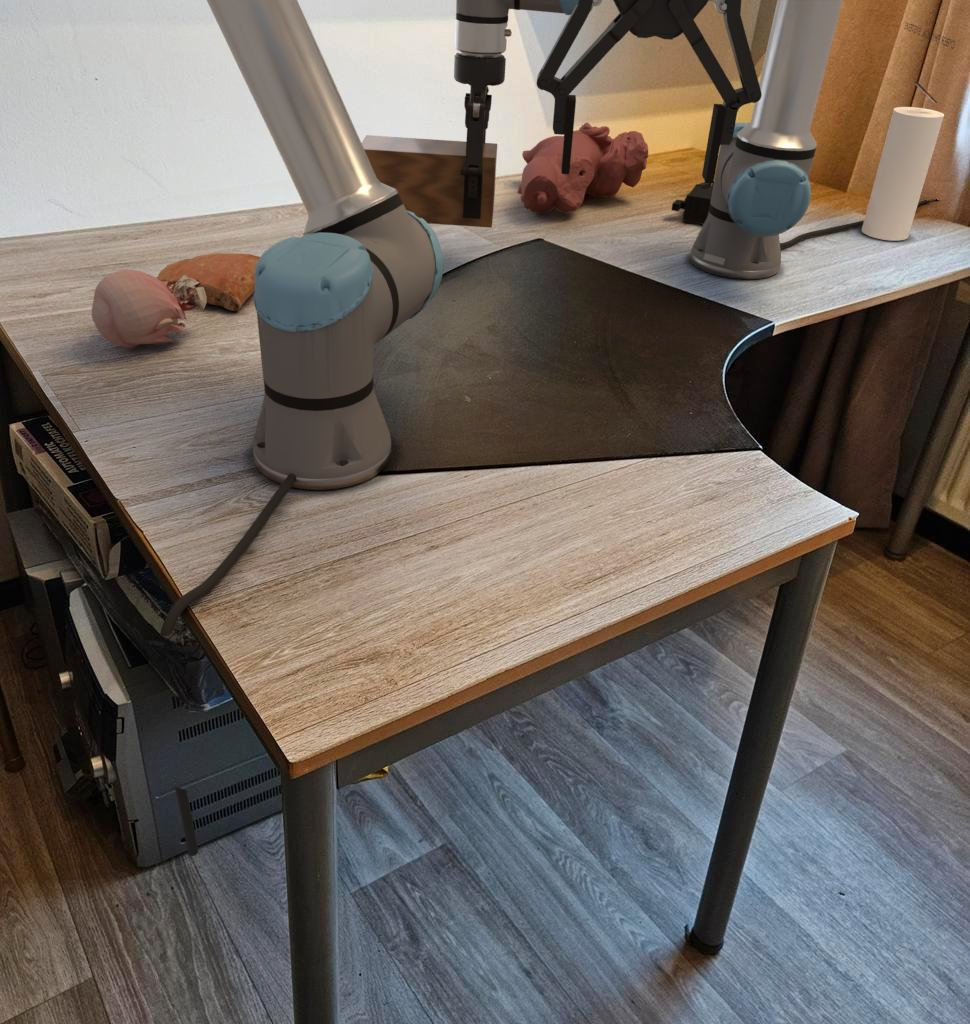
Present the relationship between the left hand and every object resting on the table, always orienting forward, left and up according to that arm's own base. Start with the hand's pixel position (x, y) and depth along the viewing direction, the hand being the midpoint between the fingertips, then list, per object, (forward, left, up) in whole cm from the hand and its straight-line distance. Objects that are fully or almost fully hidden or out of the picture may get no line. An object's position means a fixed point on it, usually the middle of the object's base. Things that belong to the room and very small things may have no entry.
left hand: (636, 175), depth 92 cm
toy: (+108, +2, -32) cm, 112 cm away
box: (+49, +41, -23) cm, 68 cm away
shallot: (+7, +64, -32) cm, 72 cm away
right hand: (+51, +34, -22) cm, 65 cm away
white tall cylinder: (+104, -31, -32) cm, 114 cm away
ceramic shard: (+26, +66, -32) cm, 78 cm away
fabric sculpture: (+95, +28, -32) cm, 104 cm away
